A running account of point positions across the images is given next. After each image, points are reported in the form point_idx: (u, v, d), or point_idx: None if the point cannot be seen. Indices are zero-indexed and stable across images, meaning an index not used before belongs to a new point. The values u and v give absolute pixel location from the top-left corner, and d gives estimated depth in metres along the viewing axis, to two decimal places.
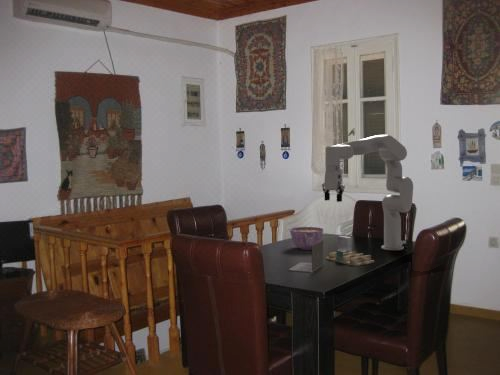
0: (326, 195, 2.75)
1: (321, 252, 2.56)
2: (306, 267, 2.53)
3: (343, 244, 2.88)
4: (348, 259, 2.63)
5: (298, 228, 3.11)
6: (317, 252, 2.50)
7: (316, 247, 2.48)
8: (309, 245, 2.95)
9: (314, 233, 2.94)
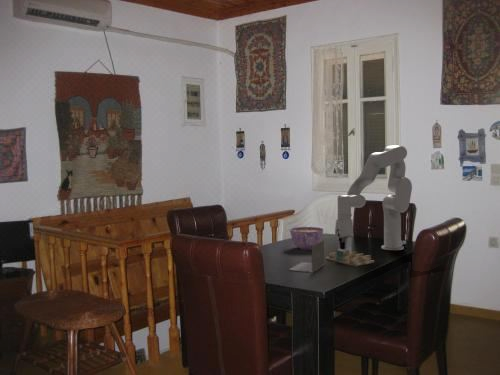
0: None
1: (322, 252, 2.56)
2: (307, 267, 2.53)
3: None
4: (348, 259, 2.63)
5: (298, 228, 3.11)
6: (317, 252, 2.50)
7: (316, 247, 2.48)
8: (309, 245, 2.95)
9: (314, 233, 2.94)
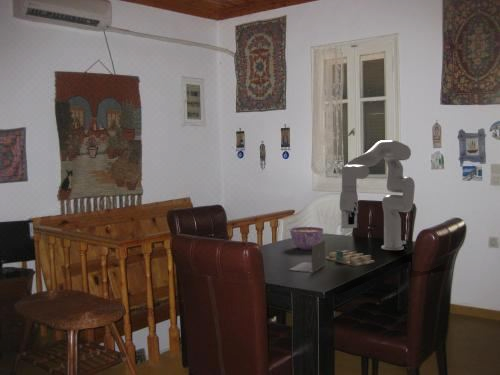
0: None
1: (322, 252, 2.56)
2: (307, 267, 2.53)
3: None
4: (348, 259, 2.63)
5: (298, 228, 3.11)
6: (318, 252, 2.50)
7: (317, 247, 2.48)
8: (309, 245, 2.95)
9: (314, 233, 2.94)
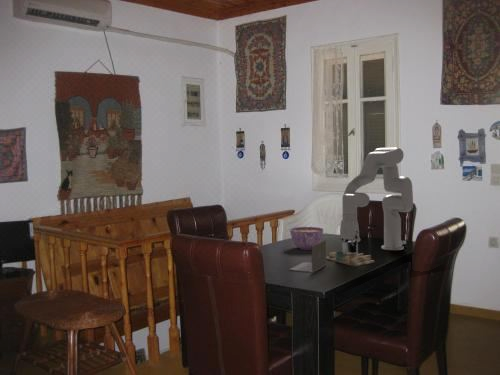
0: None
1: (323, 252, 2.56)
2: (308, 267, 2.53)
3: None
4: (348, 259, 2.63)
5: (298, 228, 3.11)
6: (318, 252, 2.50)
7: (317, 247, 2.48)
8: (309, 245, 2.95)
9: (314, 233, 2.94)
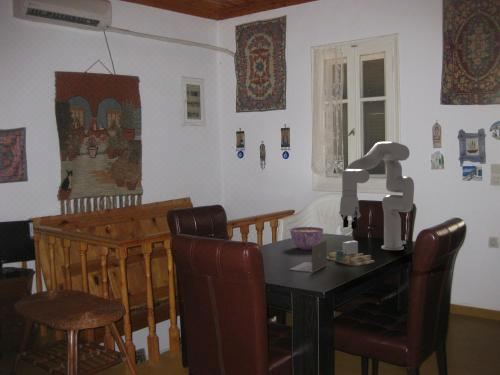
0: None
1: (324, 252, 2.55)
2: (308, 267, 2.53)
3: (353, 249, 2.67)
4: (348, 259, 2.63)
5: (298, 228, 3.11)
6: (319, 252, 2.50)
7: (317, 247, 2.48)
8: (309, 245, 2.95)
9: (314, 233, 2.94)
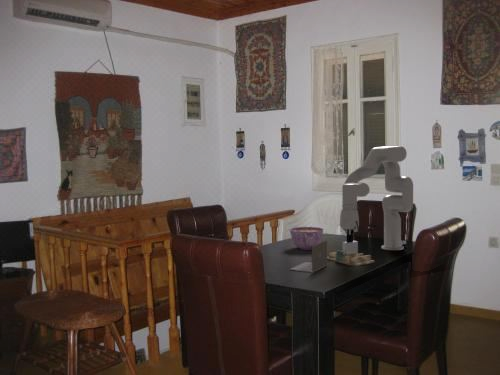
0: None
1: (324, 252, 2.55)
2: (308, 267, 2.53)
3: (353, 249, 2.67)
4: (348, 259, 2.63)
5: (298, 228, 3.11)
6: (319, 252, 2.50)
7: (318, 247, 2.48)
8: (309, 245, 2.95)
9: (314, 233, 2.94)
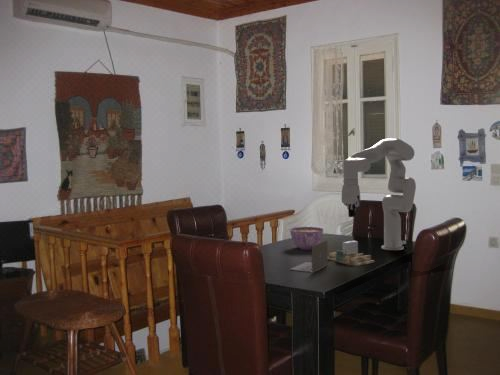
0: None
1: (325, 252, 2.55)
2: (309, 267, 2.53)
3: (353, 249, 2.67)
4: (348, 259, 2.63)
5: (298, 228, 3.11)
6: (319, 252, 2.49)
7: (318, 247, 2.48)
8: (309, 245, 2.95)
9: (314, 233, 2.94)
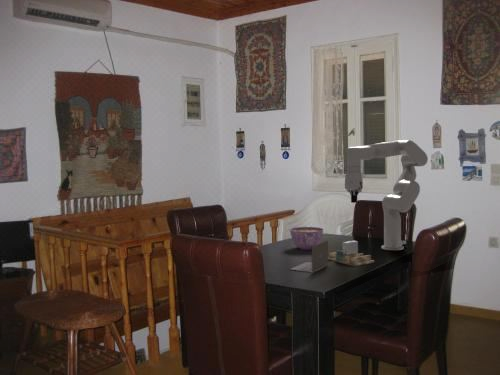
0: None
1: (325, 252, 2.55)
2: (309, 267, 2.53)
3: (353, 249, 2.67)
4: (348, 259, 2.63)
5: (298, 228, 3.11)
6: (319, 252, 2.49)
7: (318, 247, 2.48)
8: (309, 245, 2.95)
9: (314, 233, 2.94)
